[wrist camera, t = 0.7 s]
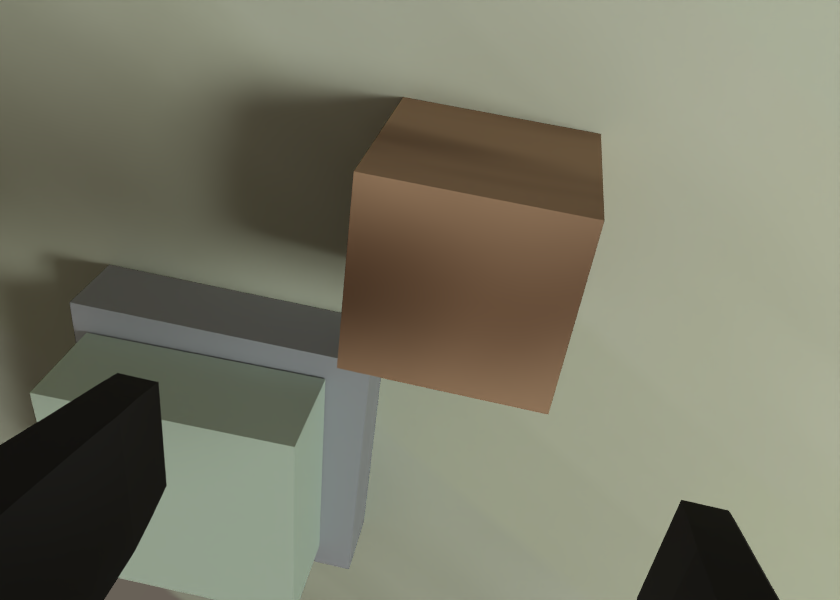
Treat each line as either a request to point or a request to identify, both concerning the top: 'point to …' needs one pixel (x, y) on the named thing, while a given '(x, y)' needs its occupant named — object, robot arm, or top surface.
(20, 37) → the top surface
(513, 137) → the walnut cube
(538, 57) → the top surface
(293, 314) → the base tile
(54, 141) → the top surface
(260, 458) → the top tile
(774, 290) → the top surface
